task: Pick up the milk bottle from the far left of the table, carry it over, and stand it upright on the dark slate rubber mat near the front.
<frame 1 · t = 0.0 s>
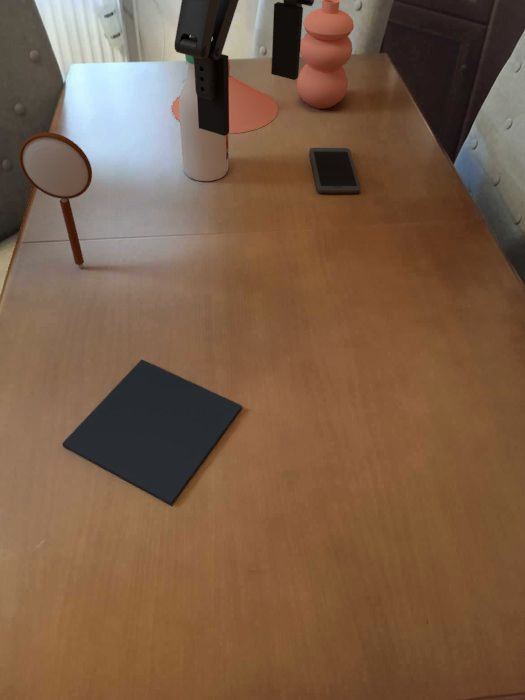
hand: (251, 101, 57), 29 cm above the table, tool pointing down, fingers open, 13 cm apart
mat: (155, 427, 66), on the table
magnifying glass: (81, 269, 84), on the table
cell phone: (333, 172, 103), on the table
milk bottle: (206, 171, 103), on the table
ceramic vessels: (259, 107, 120), on the table
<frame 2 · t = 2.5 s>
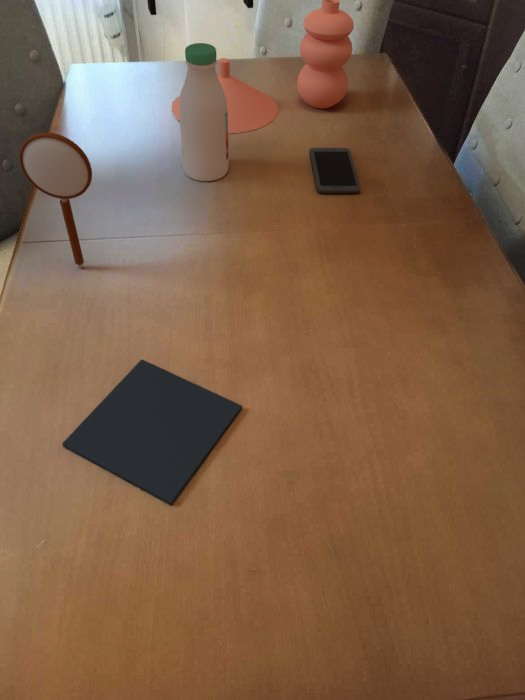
hand: (201, 8, 83), 25 cm above the table, tool pointing down, fingers open, 13 cm apart
nothing on the table moved.
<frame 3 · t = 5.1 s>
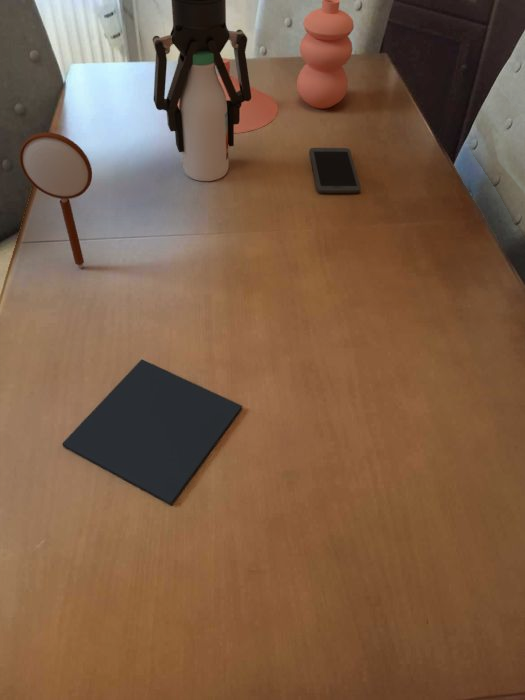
hand: (204, 145, 99), 5 cm above the table, tool pointing down, fingers closed on milk bottle, 8 cm apart
milk bottle: (206, 171, 103), on the table, touching gripper
everything else where it was.
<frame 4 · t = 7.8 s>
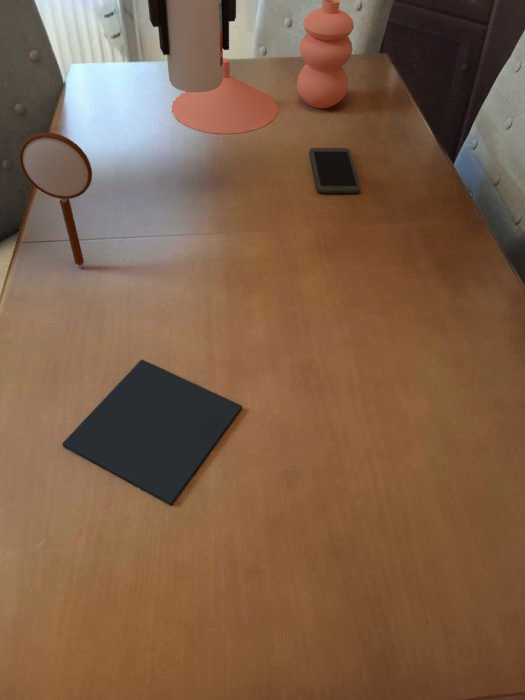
hand: (194, 48, 83), 22 cm above the table, tool pointing down, fingers closed on milk bottle, 8 cm apart
milk bottle: (196, 83, 86), point 17 cm above the table, touching gripper
everything else where it was.
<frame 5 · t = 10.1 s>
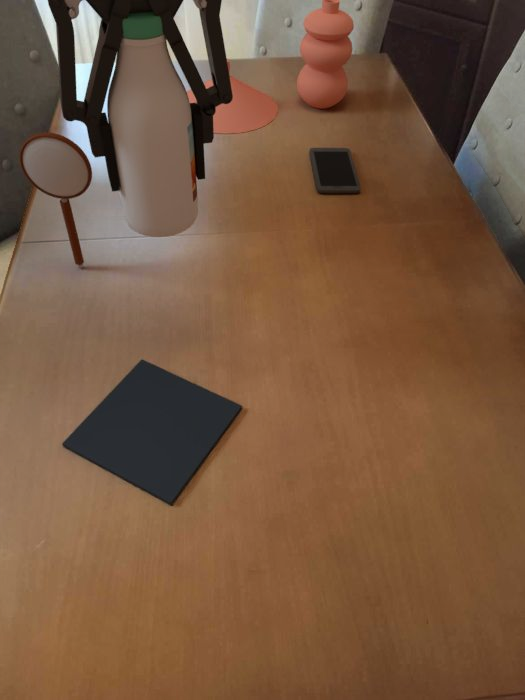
hand: (156, 177, 59), 22 cm above the table, tool pointing down, fingers closed on milk bottle, 8 cm apart
milk bottle: (161, 219, 63), point 17 cm above the table, touching gripper
everything else where it was.
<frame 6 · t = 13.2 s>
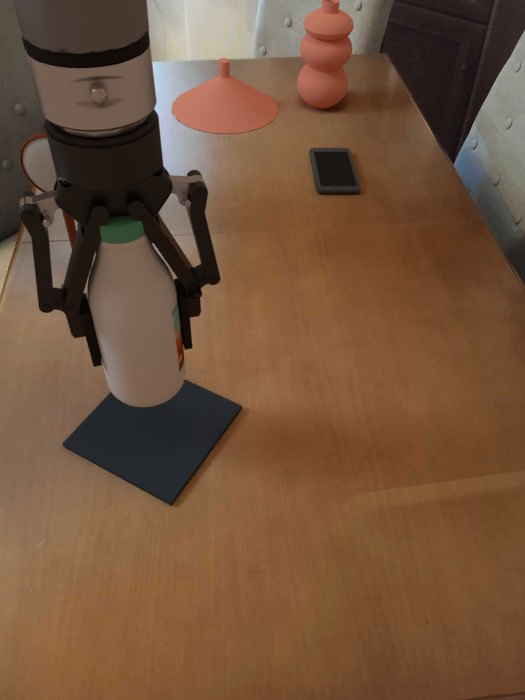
hand: (141, 347, 56), 13 cm above the table, tool pointing down, fingers closed on milk bottle, 8 cm apart
milk bottle: (147, 380, 60), point 8 cm above the table, touching gripper
everything else where it was.
when the fingers open (5 cm above the table, at t = 15.4 s): milk bottle stays where it is, resting on mat.
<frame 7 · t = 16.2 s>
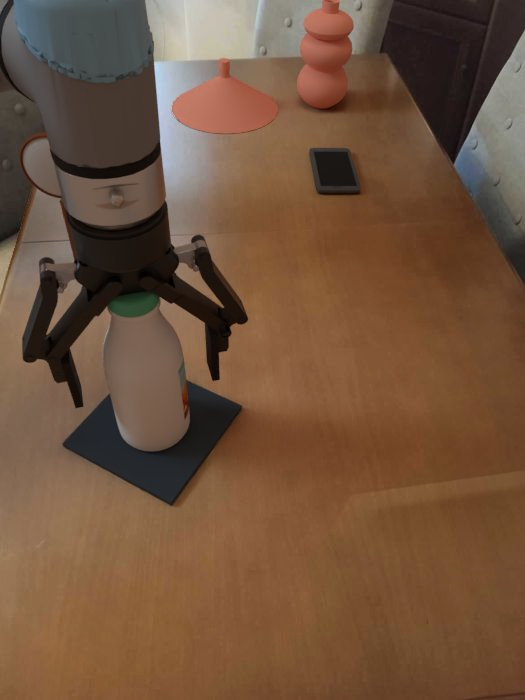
hand: (147, 383, 60), 7 cm above the table, tool pointing down, fingers open, 13 cm apart
milk bottle: (155, 425, 66), resting on mat
everything else where it was.
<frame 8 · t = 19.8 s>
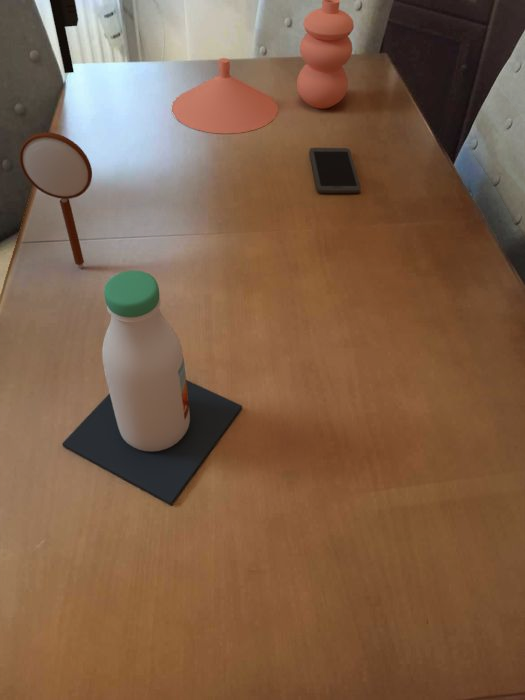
nothing on the table moved.
at the end: milk bottle inside the target area on the mat (0.0 cm from its centre), point 0.4 cm above the mat's base; milk bottle tilted 0°; milk bottle moved 53.7 cm from its start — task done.
